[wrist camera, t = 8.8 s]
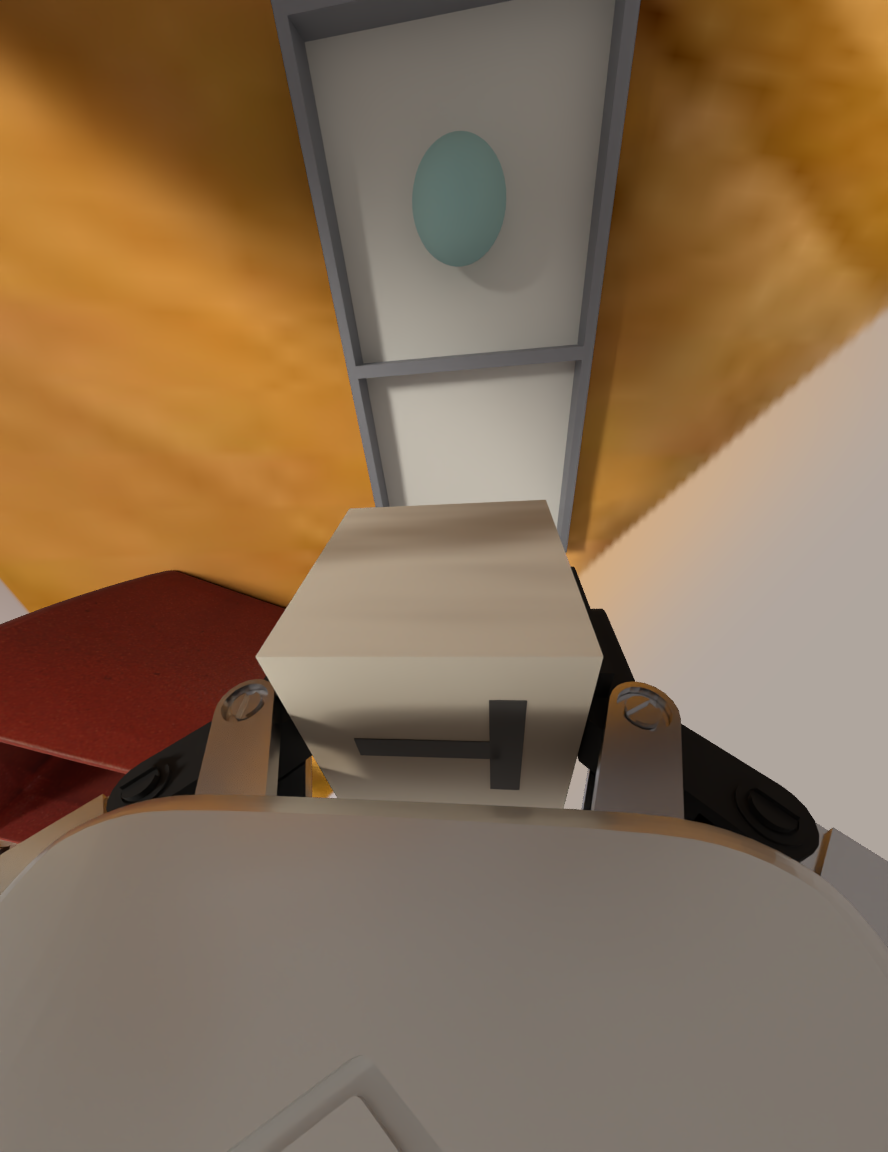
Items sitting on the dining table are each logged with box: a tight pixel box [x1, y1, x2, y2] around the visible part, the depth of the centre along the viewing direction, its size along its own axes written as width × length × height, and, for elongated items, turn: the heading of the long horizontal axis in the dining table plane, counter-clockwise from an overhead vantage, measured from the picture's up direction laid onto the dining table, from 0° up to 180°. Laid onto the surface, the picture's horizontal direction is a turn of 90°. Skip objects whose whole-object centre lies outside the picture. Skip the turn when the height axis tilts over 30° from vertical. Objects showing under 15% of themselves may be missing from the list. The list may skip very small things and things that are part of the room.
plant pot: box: [0, 570, 285, 844], centre depth 30 cm, size 19×19×17 cm
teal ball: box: [412, 131, 506, 267], centre depth 15 cm, size 4×4×4 cm
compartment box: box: [271, 0, 641, 553], centre depth 20 cm, size 24×13×2 cm, turn 5°
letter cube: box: [256, 500, 603, 809], centre depth 10 cm, size 6×6×6 cm
